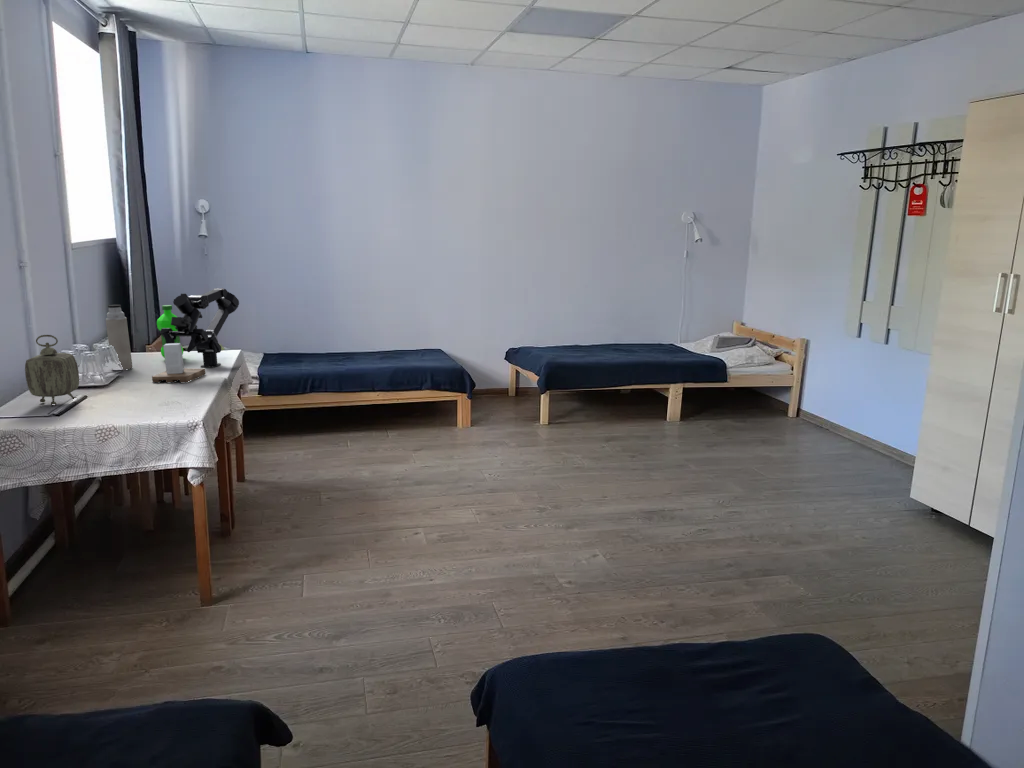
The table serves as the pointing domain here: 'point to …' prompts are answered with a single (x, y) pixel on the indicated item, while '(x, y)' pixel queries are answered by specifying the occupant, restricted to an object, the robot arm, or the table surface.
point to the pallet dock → (179, 375)
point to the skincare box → (173, 358)
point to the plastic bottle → (167, 325)
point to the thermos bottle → (119, 335)
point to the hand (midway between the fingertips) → (177, 351)
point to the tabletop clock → (51, 373)
